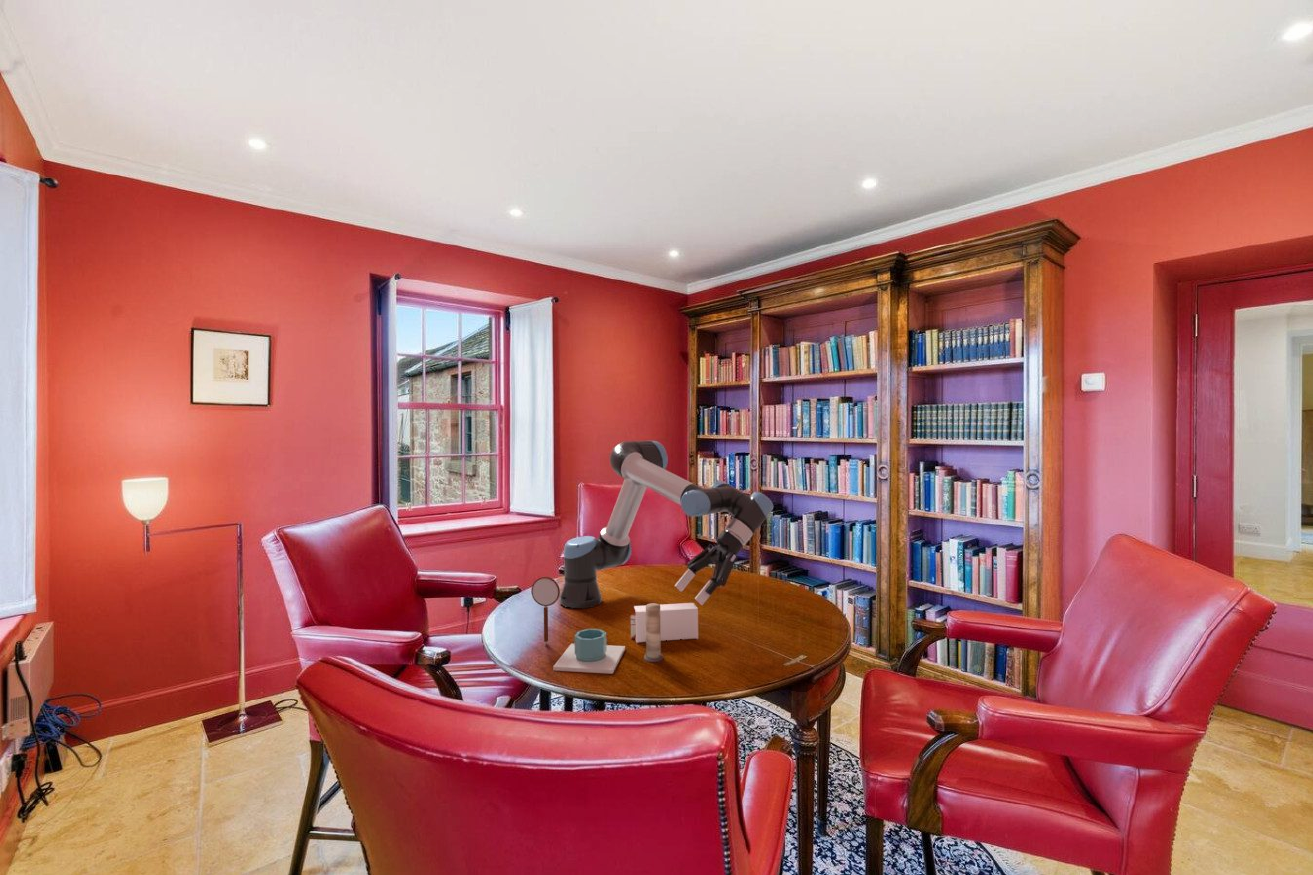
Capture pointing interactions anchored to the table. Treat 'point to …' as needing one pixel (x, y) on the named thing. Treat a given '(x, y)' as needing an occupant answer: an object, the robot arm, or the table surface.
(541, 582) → the magnifying glass
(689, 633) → the cigarette display
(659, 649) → the pillar candle on dish
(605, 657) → the octagonal cup on tile
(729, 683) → the table surface
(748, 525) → the robot arm
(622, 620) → the table surface
